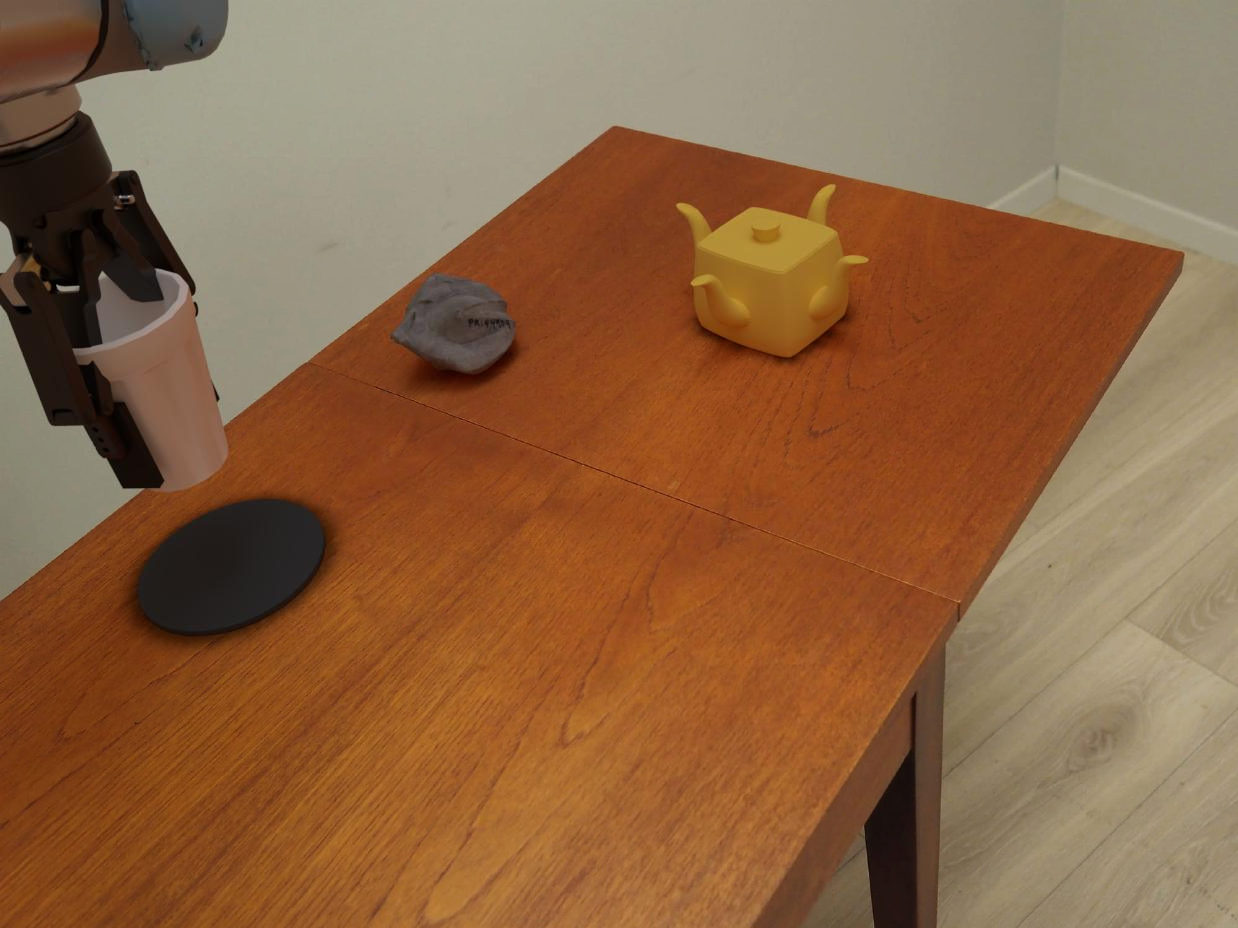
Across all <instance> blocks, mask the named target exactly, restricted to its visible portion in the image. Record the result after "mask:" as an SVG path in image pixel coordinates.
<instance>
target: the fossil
mask: <svg viewBox="0 0 1238 928" xmlns="http://www.w3.org/2000/svg"><path fill="white" fill-rule="evenodd" d="M516 332H517V322H516V320H514V319H513V318H512V317H510V316H509V315H508V302H507V301H506V300H505V299H504V297H503V296H502V295H501V294H500V293H499V292H497V291H496V290H494V289H493V288H492V287H490V286H489V285H487V284H486V283H484V282H480V281H475V280H473V279H471V278H468V277H467V278H465V277H461V276H454V275H452V274H451V275H450V274H444V273H441V272H433V273H431V274H429V275H428V276H427V277H426V279H425V280H424V281H423V282H422V284H421V285H420V287H419V288H418V289H417V290H416V292H415V293H414V294H413V295H412V297H411V299H410V300H409V302H408V303H407V306H406V308H405V314H404V316H403V318H402V319H401V322H400V323H399V324H398V325H397V326H396V328H395V329H394V330H393V331H391V333H390V340H393V342H394V343H396V344H397V345H401V346H402V347H404V348H406V350H408V351H410V352H411V353H412V354H414V355H416V356H417V357H419V358H421V359H423V360H424V361H428V362H430V363H431V365H432V367H434V368H435V369H436V370H438V371H455V372H458V373H461V374H465V375H474V376H475V375H478V374H481V373H483V372H486V370H488V369H489V368H491V367H492V366H493V365H494V364H495V363H496V362H497V361H498V360H500V359H501V358H502V356H504V355H505V354H506V352H507V351H508V350H509V349H510V347H511V346H512V343H513V341H514V338H515V335H516Z"/></svg>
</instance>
